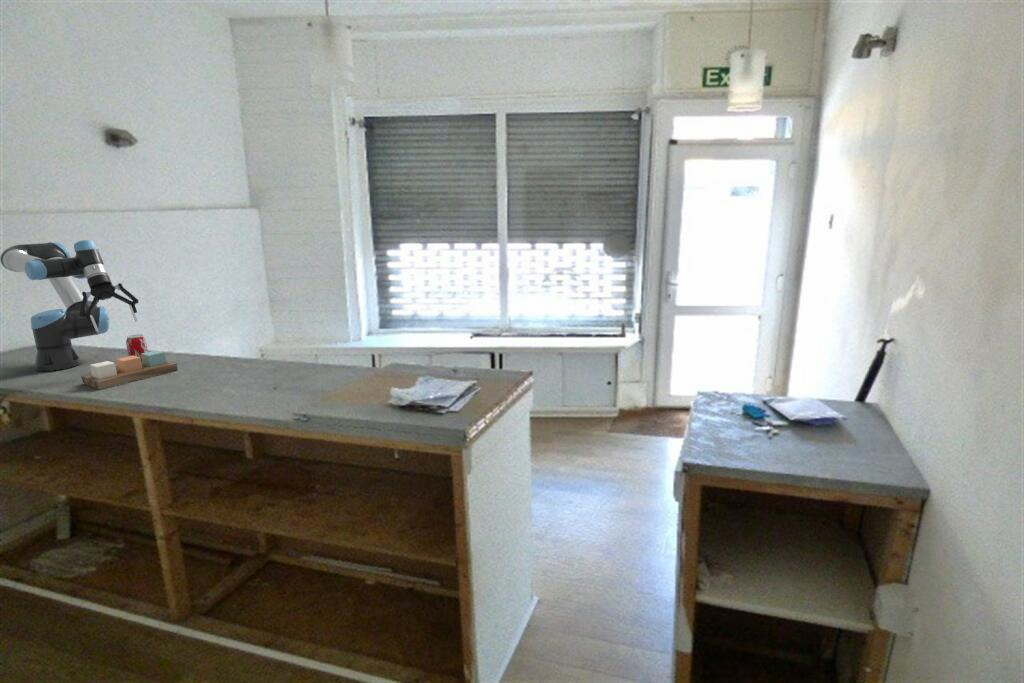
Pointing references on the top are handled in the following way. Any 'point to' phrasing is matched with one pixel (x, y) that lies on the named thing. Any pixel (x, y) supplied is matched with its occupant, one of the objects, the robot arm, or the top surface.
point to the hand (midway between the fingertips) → (117, 325)
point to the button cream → (103, 369)
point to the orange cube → (129, 364)
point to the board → (129, 375)
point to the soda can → (136, 345)
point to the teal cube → (153, 358)
